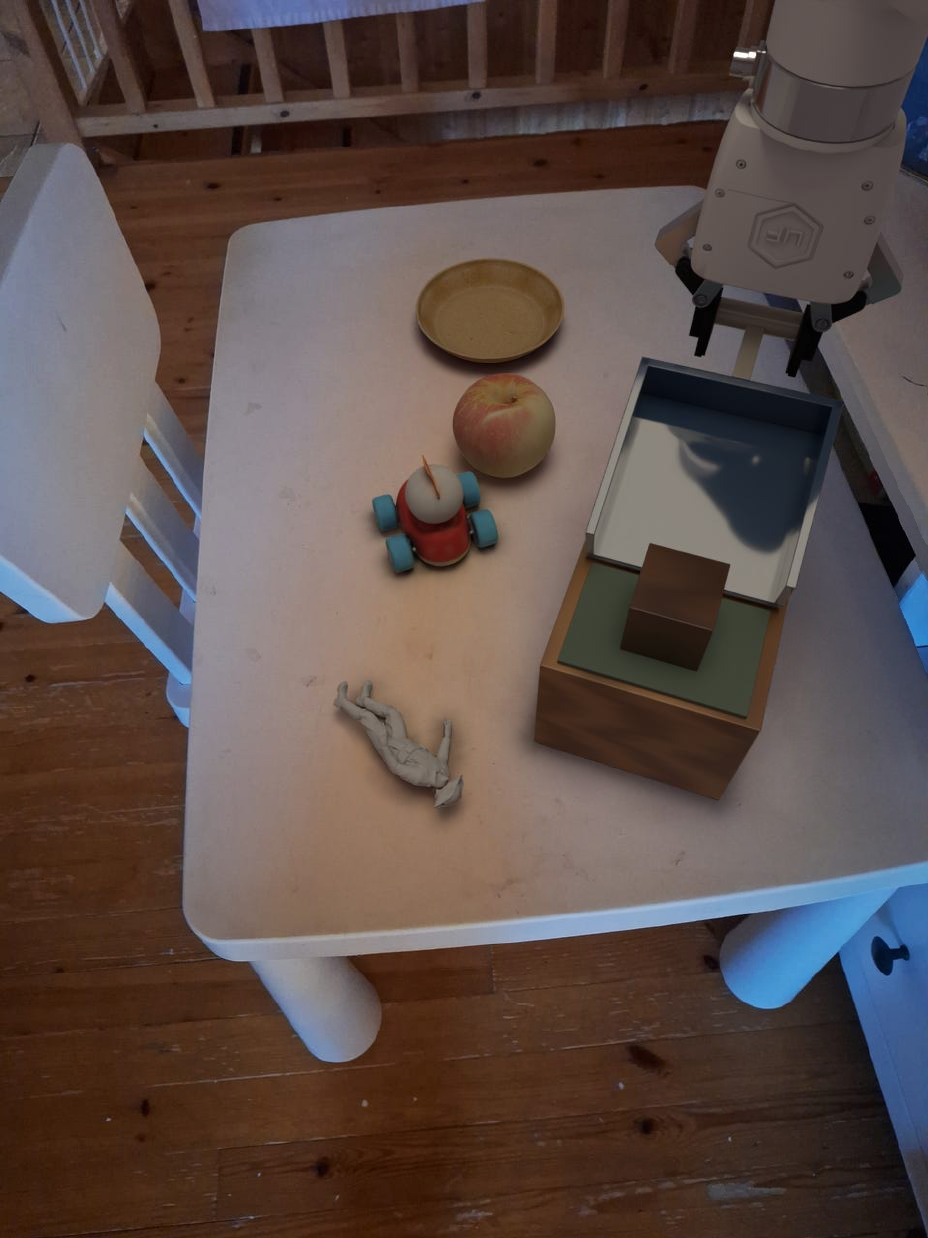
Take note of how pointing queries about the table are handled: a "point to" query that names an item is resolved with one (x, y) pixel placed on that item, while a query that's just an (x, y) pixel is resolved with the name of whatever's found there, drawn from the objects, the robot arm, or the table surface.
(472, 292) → the plant saucer
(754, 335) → the blue open box
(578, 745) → the stand
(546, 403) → the apple
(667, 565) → the block
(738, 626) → the mat
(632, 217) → the table surface
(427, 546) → the toy car
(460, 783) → the soldier figure
